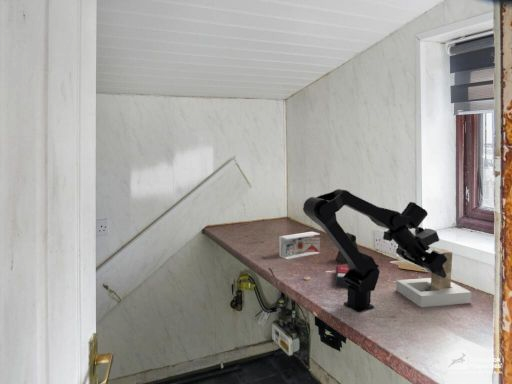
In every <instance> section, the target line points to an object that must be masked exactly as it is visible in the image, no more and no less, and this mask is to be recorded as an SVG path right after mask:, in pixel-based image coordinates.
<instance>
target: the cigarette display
mask: <svg viewBox="0 0 512 384" xmlns="http://www.w3.org/2000/svg"><path fill="white" fill-rule="evenodd" d="M319 235H321V233H320V232H315V231H307V232H301V233H294V234H293V233H292V234H286V235H279V237H278V239H279V240H278V241H279V255H278V256H279V257H280V258H282V259H285V260H292V259H297V258H301V257H302V258H303V257H307V256H312V255H318V254H320V251H321V250H320V249H321V248H320V244H321V243H320V242H321V240H320V239H321V238H320V236H319Z"/></svg>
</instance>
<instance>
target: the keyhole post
mask: <svg viewBox="0 0 512 384" xmlns="http://www.w3.org/2000/svg"><path fill="white" fill-rule="evenodd" d="M432 251H438V252H440V253H443V254H444V255H445V256H446V257H447V261H446V262H445V263H444V264H443V268H444V270H445V273H446V275H447V276H446V277H445V278H443V277H440V276H438V275H436V274H433V273H431V272H430V273H431V275H430V276H431V277H430V278H431V289H426V291H438V290H440V289H442V288H450V286H451V282H452V268H453V267H452V264H453V263H452V262H453V252H452V251H450V250H448V249H445V248H436V249H434V248H433V249H432Z"/></svg>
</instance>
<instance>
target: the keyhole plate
mask: <svg viewBox="0 0 512 384" xmlns="http://www.w3.org/2000/svg"><path fill="white" fill-rule="evenodd" d="M395 284H396V285H395V291H396V292H397V293H399V294H401V295H402V296H404V297H405V298H406V299H408V300H410V301H411V302H412V303H414V304H415V305H417V306H418V307H419V308H426V307H428V308H429V307H439V306H440V307H441V306H451V305H452V306H453V305H463V304H471V303H472V291H470V290H468V289H466V288H465V287H463V286H460V285H459V284H456V283H454V282H453V281H451V286H450V288H442V289H440V290H438V291H426V289H431V277H422V278H413V279H412V278H411V279H408V278H407V279H398V280H396V283H395Z"/></svg>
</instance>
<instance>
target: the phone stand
mask: <svg viewBox="0 0 512 384" xmlns="http://www.w3.org/2000/svg"><path fill="white" fill-rule="evenodd" d="M345 233H346V234H347V236H348V237H349V238H350V240H351V241H352V242H353V244H354V245H355V246H356V248H357V249H358V250H359V247H358V244H357V237H356V235H355V234H352V233H349V232H347V231H346V232H345ZM335 260H336V261H337V262H339V263H341V264H343V265H348V263H347V260H346V258H345V257H344V256H343V254H342V253H341V252H340V250H339V249H338V252H337V255H336V257H335Z"/></svg>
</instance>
